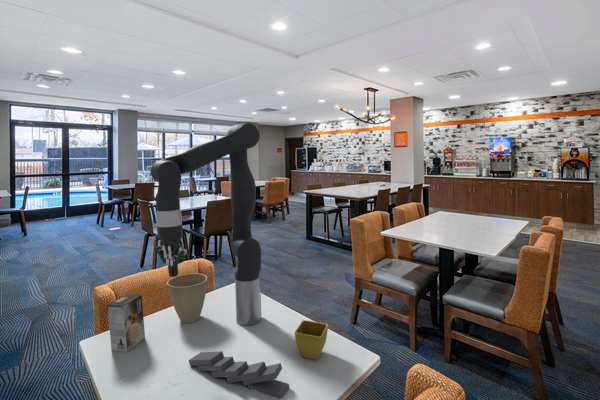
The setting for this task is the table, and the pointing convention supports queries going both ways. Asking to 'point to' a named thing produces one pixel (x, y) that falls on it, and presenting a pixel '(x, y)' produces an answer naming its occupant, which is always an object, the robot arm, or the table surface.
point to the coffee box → (126, 322)
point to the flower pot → (311, 338)
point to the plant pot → (188, 295)
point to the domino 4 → (249, 372)
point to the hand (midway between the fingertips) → (173, 276)
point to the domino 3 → (231, 370)
